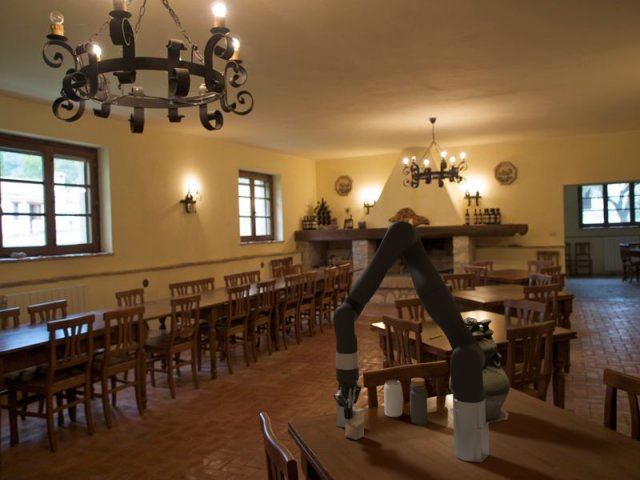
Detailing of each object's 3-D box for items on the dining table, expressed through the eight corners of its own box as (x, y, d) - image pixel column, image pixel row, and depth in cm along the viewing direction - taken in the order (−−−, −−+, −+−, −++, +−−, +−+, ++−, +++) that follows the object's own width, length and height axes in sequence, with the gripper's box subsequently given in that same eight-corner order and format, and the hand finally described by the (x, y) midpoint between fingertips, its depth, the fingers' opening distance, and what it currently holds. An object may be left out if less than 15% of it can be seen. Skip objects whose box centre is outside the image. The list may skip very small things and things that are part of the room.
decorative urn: (439, 412, 186) (433, 319, 186) (483, 401, 194) (478, 312, 194) (477, 431, 166) (470, 327, 166) (525, 418, 175) (519, 319, 174)
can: (397, 418, 179) (396, 385, 179) (381, 415, 183) (380, 383, 183) (405, 413, 184) (404, 381, 184) (390, 410, 188) (389, 378, 188)
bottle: (428, 424, 173) (427, 381, 173) (412, 425, 173) (410, 382, 173) (425, 418, 179) (424, 376, 179) (409, 418, 179) (408, 377, 179)
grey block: (353, 423, 176) (352, 397, 176) (348, 427, 172) (347, 401, 172) (341, 421, 178) (340, 396, 178) (336, 426, 174) (336, 400, 174)
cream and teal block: (363, 436, 165) (364, 409, 165) (356, 440, 161) (356, 411, 162) (352, 433, 167) (353, 406, 168) (345, 436, 164) (345, 409, 164)
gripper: (344, 371, 154) (346, 427, 154) (368, 362, 164) (369, 414, 164) (325, 368, 159) (326, 422, 159) (349, 359, 169) (350, 410, 169)
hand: (348, 418), depth 162 cm, fingers closed
